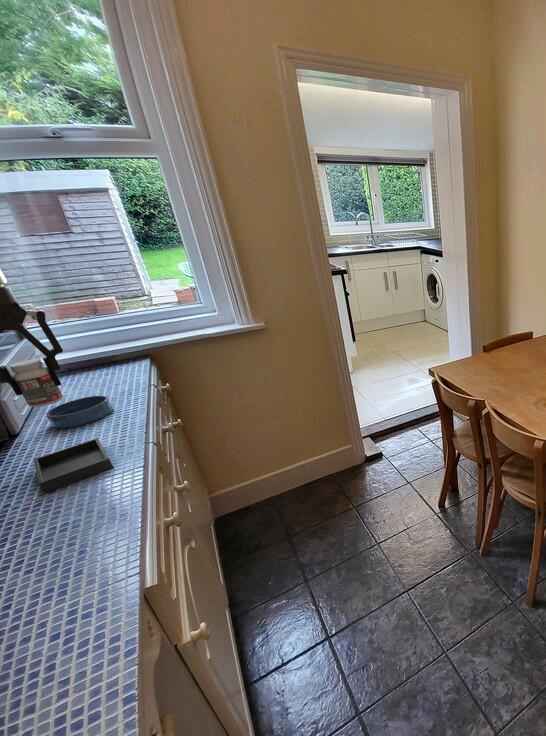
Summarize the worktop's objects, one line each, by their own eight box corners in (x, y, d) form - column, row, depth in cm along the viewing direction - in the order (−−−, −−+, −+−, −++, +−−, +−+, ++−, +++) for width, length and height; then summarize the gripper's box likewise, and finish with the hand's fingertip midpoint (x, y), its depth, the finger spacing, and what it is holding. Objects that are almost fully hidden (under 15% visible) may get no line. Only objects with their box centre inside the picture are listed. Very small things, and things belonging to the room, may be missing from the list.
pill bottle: (60, 402, 95) (38, 363, 91) (26, 410, 92) (1, 369, 88) (66, 394, 100) (45, 356, 96) (33, 401, 97) (10, 362, 93)
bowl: (55, 433, 111) (47, 421, 109) (52, 420, 119) (44, 408, 117) (116, 415, 120) (110, 402, 118) (109, 403, 128) (103, 391, 126)
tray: (39, 468, 96) (33, 459, 95) (102, 446, 104) (97, 437, 102) (45, 493, 87) (38, 483, 86) (113, 467, 94) (108, 458, 93)
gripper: (-95, 298, 76) (-23, 408, 86) (47, 281, 89) (96, 378, 99) (-91, 294, 81) (-23, 399, 90) (44, 279, 94) (91, 372, 103)
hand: (39, 388), depth 95 cm, fingers closed on pill bottle, 6 cm apart
